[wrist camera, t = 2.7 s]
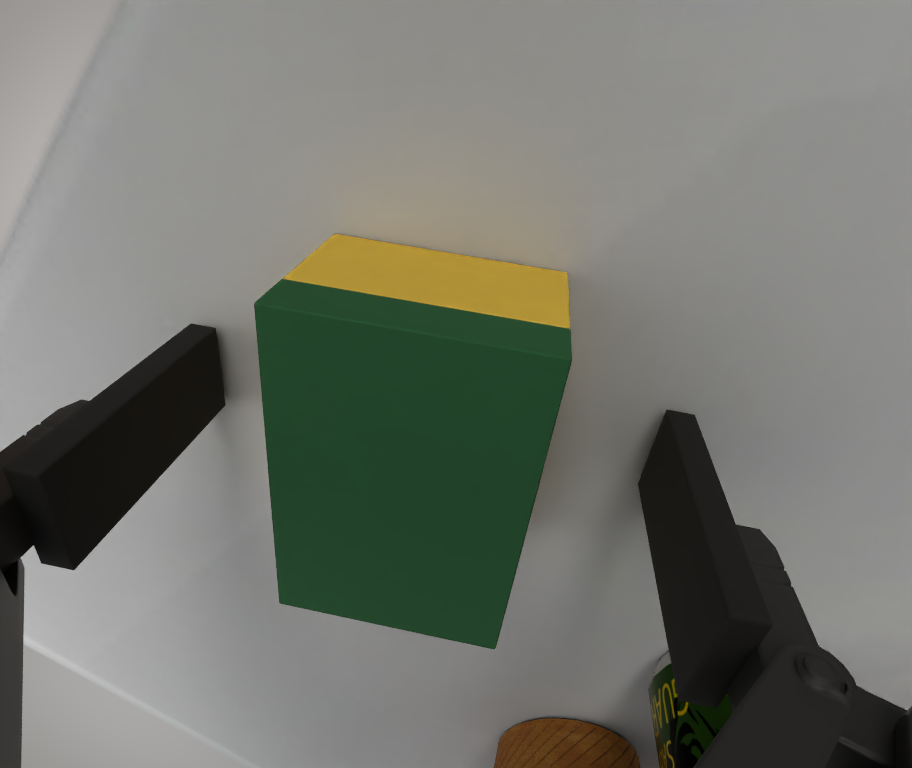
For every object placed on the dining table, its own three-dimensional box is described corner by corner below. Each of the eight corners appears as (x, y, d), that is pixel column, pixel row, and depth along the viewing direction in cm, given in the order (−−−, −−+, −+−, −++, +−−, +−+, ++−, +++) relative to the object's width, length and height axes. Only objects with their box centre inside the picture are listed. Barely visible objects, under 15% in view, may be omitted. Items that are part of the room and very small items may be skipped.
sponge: (333, 232, 14) (253, 302, 10) (568, 271, 14) (572, 359, 10) (334, 491, 19) (278, 603, 15) (507, 526, 19) (495, 650, 15)
